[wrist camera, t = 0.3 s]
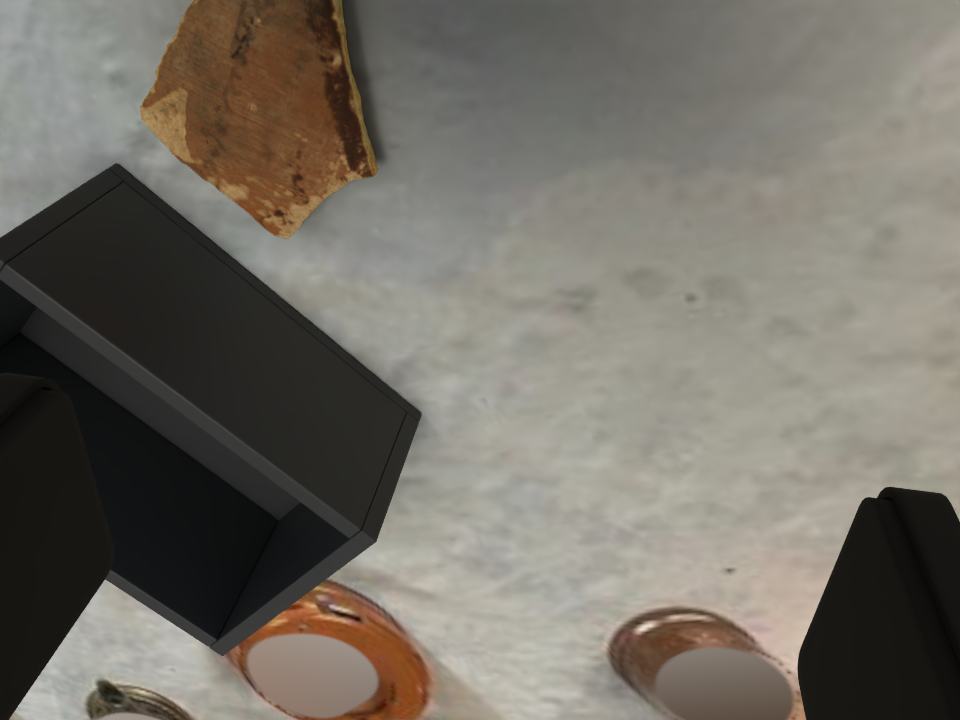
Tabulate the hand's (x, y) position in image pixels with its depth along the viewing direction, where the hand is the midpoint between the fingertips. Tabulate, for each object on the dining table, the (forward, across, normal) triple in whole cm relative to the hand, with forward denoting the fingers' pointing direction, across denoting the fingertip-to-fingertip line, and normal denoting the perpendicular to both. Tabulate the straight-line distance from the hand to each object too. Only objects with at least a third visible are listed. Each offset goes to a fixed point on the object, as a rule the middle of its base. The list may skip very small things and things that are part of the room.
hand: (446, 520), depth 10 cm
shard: (+21, +10, 0) cm, 23 cm away
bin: (+20, +14, +13) cm, 28 cm away
